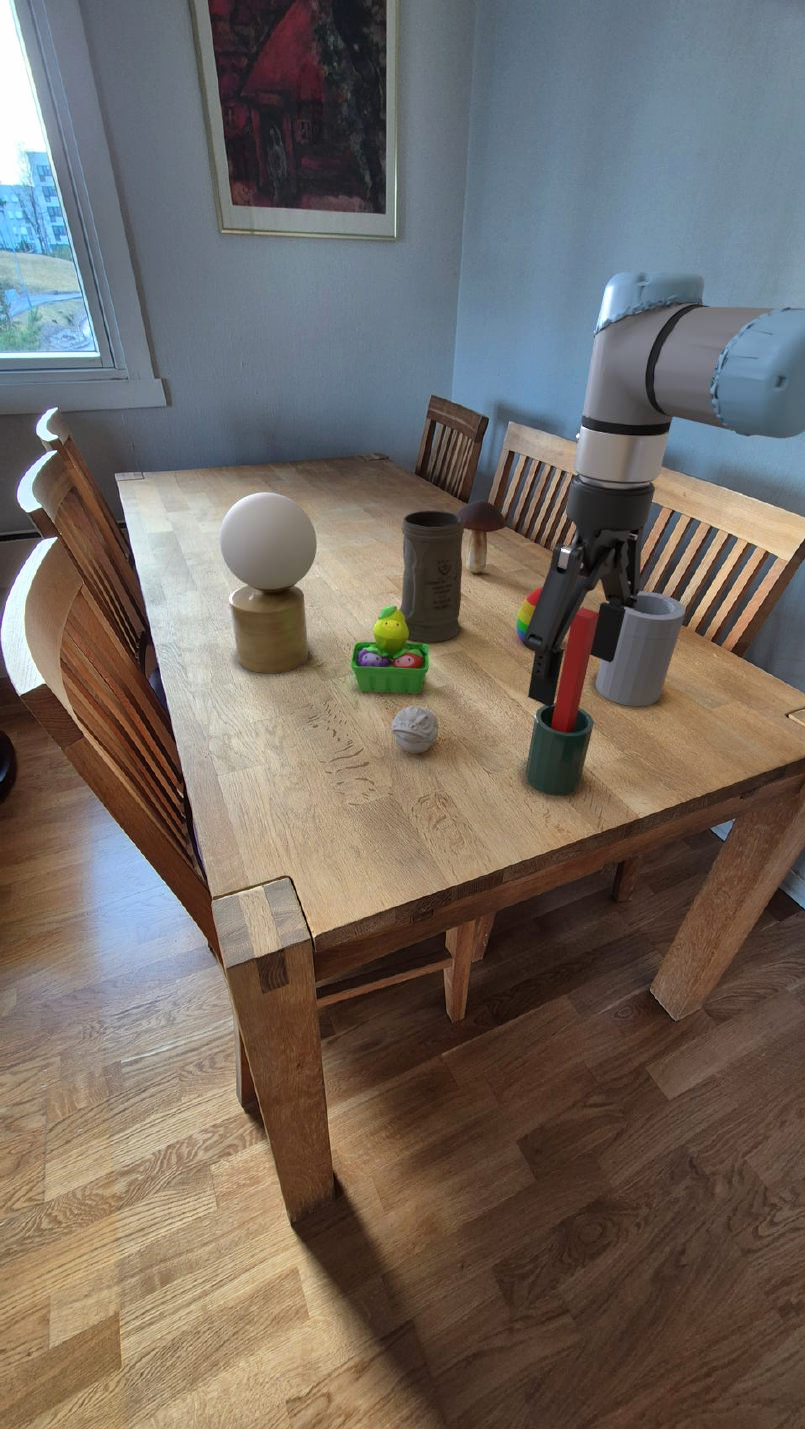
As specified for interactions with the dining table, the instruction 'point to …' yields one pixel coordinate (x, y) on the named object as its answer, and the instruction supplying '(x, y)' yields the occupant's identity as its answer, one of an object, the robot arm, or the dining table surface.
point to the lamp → (268, 579)
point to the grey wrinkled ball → (415, 728)
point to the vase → (642, 651)
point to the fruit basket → (390, 657)
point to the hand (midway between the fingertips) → (572, 678)
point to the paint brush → (574, 670)
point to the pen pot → (557, 753)
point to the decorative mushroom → (479, 531)
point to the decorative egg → (527, 613)
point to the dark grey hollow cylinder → (432, 574)
